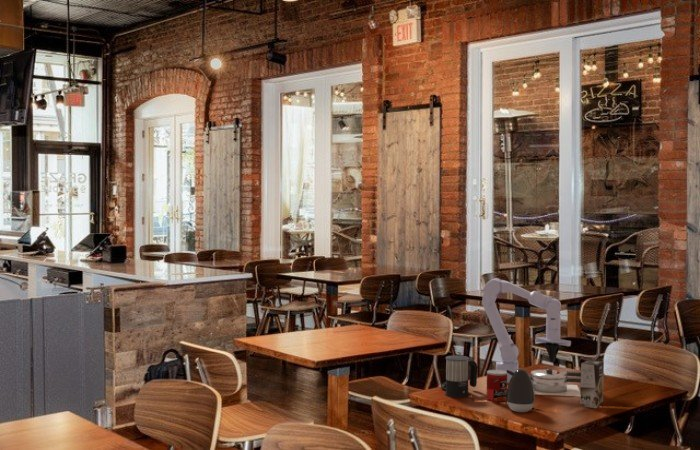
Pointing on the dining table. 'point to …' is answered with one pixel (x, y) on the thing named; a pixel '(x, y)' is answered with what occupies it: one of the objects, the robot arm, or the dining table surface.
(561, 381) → the pot
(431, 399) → the dining table surface
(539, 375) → the lid
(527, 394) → the pump dispenser
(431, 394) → the dining table surface
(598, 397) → the coffee box
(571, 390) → the board
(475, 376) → the milk frother
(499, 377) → the canned food
